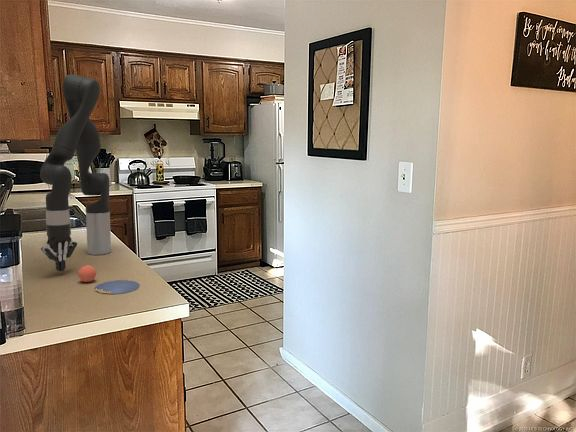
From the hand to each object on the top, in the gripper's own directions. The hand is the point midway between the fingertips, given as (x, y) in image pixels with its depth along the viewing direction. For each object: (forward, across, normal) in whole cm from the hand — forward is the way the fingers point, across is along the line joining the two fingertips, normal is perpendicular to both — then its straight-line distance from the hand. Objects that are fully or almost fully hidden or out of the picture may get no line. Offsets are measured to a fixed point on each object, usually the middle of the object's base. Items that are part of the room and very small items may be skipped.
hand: (61, 270), depth 168 cm
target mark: (+2, +2, -27) cm, 27 cm away
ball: (-1, 0, -14) cm, 14 cm away
